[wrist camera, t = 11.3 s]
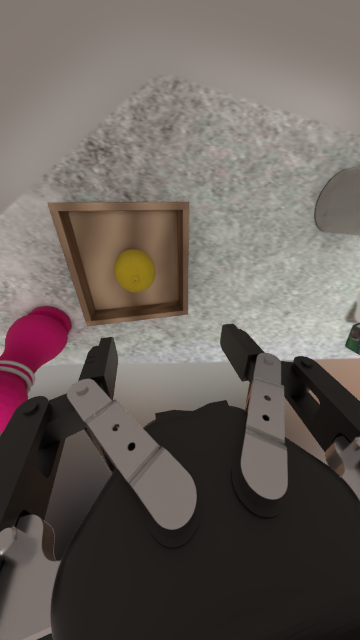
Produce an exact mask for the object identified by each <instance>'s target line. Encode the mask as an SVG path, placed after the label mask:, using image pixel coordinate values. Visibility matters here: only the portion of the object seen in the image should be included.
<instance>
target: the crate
mask: <svg viewBox="0 0 360 640" xmlns="http://www.w3.org/2000/svg"><path fill="white" fill-rule="evenodd" d="M48 207H49V210H50V213H51V216H52V219H53V222H54V225H55V228H56V231H57V234H58V237H59V241H60V244H61V247H62V250H63V253H64V256H65V259H66V262H67V265H68V268H69V271H70V275H71V278H72V281H73V284H74V287H75V290H76V293H77V296H78V299H79V302H80V305H81V309H82V312H83V315H84V318H85V321H86V324H87V326H94V325H102V324H111V323H119V322H128V321H136V320H145V319H153V318H162V317H170V316H178V315H187V314H188V257H189V202H84V203H48ZM130 249H137V250H141V251H143V252H145V253H146V254H148V255H149V257H150V258H151V259H152V261H153V263H154V265H155V278H154V281H153V283H152V285H151V286H150V287H149V288H148V289H146V290H145V291H142V292H130V291H127V290H125V289H124V288H123V287H121V285H120V284H119V283H118V282H117V280H116V278H115V274H114V264H115V261H116V259H117V258H118V256H119V255H120V254H121V253H123V252H124V251H126V250H130Z"/></svg>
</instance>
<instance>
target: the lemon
mask: <svg viewBox="0 0 360 640" xmlns="http://www.w3.org/2000/svg"><path fill="white" fill-rule="evenodd" d="M114 274H115V278H116V280H117V282H118V283H119V284H120V285H121V287H123V288H124V289H125V290H127V291H130V292H142V291H145V290H146V289H148V288H149V287H150V286H151V285H152V283H153V281H154V278H155V265H154V263H153V261H152V259H151V258H150V257H149V255H148V254H146V253H145V252H143V251H141V250H137V249H130V250H126V251H124V252H123V253H121V254H120V255H119V256H118V258H117V259H116V261H115V264H114Z"/></svg>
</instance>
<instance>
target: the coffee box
mask: <svg viewBox="0 0 360 640" xmlns="http://www.w3.org/2000/svg"><path fill="white" fill-rule="evenodd" d="M346 347H347V348H349V349H350V350H352V351H354V352H355V353H357V354H359V355H360V323H359V324H356V325H353V328H352V330H351V334H350V336H349V339H348V341H347V344H346Z"/></svg>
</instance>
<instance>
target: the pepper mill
mask: <svg viewBox="0 0 360 640" xmlns="http://www.w3.org/2000/svg"><path fill="white" fill-rule="evenodd" d="M70 329H71V322H70V319H69V317H68V316H67V315H66V314H65V313H64V312H62V311H61V310H59V309H56V308H53V307H39V308H36V309H34V310H33V311H32V312H31V313H30V314H28V315H27V316H24V317H22V318H20V319H18V320H17V321H15V322H14V323H13V325H12V326H11V327H10V328H9V330H8V332H7V335H6V339H5V350H4V352H3V354H2V355H1V356H0V433H1V432H3V431H4V429H5V428H6V426H7V424H8V422H9V420H10V419H11V417H12V415H13V413H14V412H15V410H16V409H17V408H18V407H19V406H20V405H21V404H22V403H24V402H25V401H27V400H28V395H27V394H28V393H29V392H30V390H31V387H32V386H33V385H34V382H35V375H34V373H35V372H36V371H37V369H38V368H39V367H41V366H42V365H43V364H45V363H47V362H48V361H50V360H52V359H53V358H55V357H56V356H57V355H58V354H59V353H60V352H61V351H62V350H63V348H64V347H65V345H66V343H67V338H68V337H67V335H68V333H69V331H70Z"/></svg>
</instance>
